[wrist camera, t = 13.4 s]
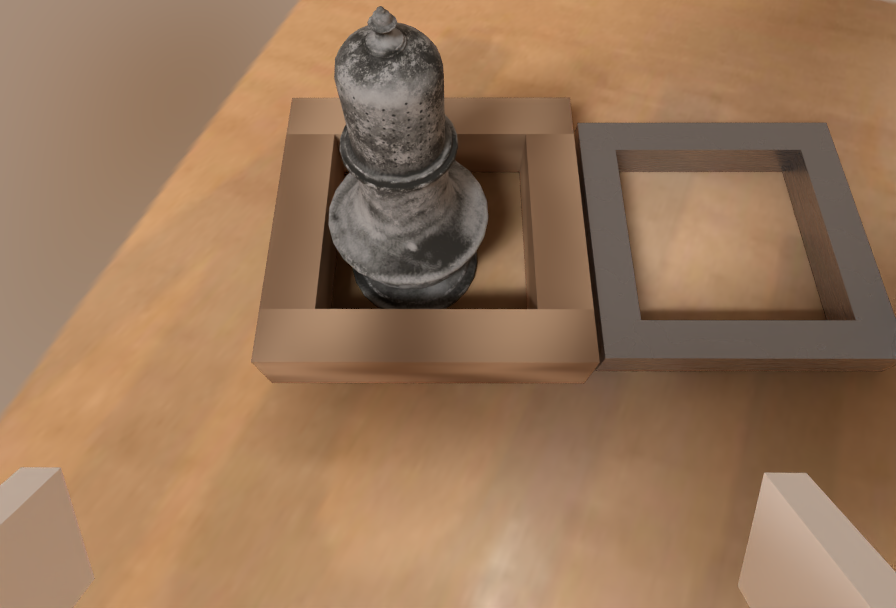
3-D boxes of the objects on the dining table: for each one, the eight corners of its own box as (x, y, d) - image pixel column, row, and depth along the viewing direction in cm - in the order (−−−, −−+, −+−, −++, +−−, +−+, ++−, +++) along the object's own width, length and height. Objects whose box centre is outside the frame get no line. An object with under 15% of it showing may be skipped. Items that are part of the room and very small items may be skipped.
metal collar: (806, 145, 26) (826, 122, 25) (881, 371, 22) (909, 358, 20) (571, 145, 26) (577, 122, 25) (595, 370, 22) (605, 358, 20)
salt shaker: (378, 186, 25) (320, -94, 15) (502, 224, 25) (539, -44, 14) (322, 296, 23) (203, 63, 12) (456, 343, 22) (456, 136, 11)
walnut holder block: (559, 137, 27) (569, 97, 24) (584, 383, 22) (599, 362, 19) (305, 137, 27) (292, 97, 24) (271, 382, 22) (251, 362, 19)
